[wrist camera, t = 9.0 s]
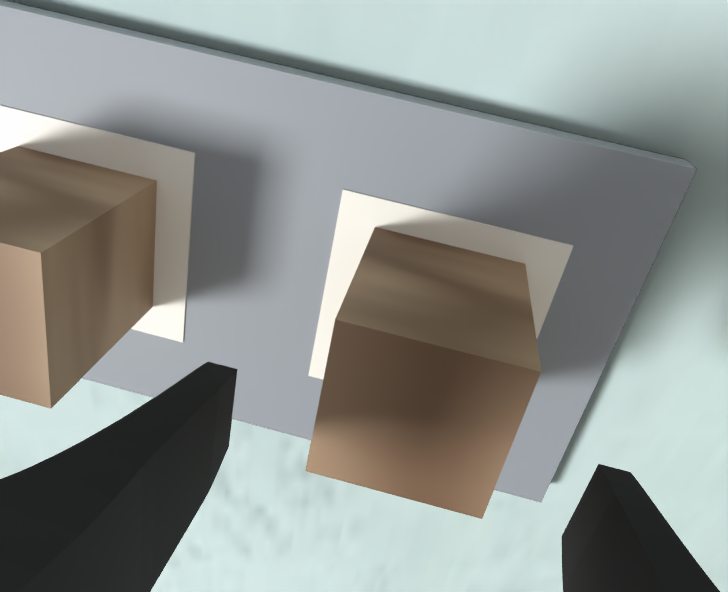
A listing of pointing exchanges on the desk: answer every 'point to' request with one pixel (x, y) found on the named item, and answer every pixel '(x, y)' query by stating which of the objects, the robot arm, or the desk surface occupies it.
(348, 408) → the block
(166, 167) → the board
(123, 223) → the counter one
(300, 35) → the desk surface
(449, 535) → the desk surface
